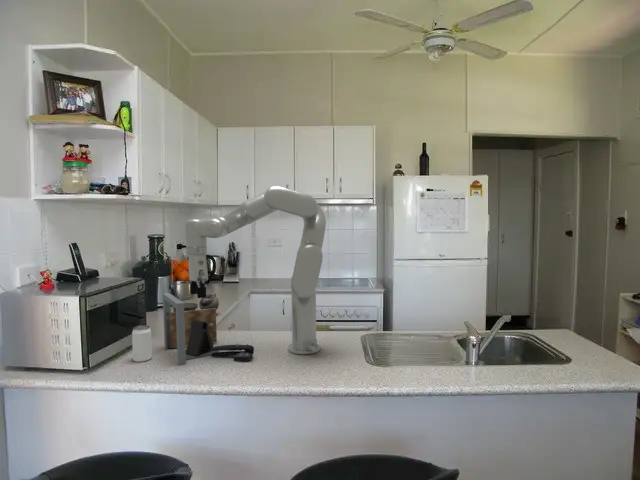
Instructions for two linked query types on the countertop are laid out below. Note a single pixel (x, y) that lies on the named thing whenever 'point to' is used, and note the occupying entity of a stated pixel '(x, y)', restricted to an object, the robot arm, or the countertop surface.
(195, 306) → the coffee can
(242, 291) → the countertop surface
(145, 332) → the can
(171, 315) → the gate door
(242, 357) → the can opener
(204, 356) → the rubber mat
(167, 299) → the door frame
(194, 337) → the phone stand
